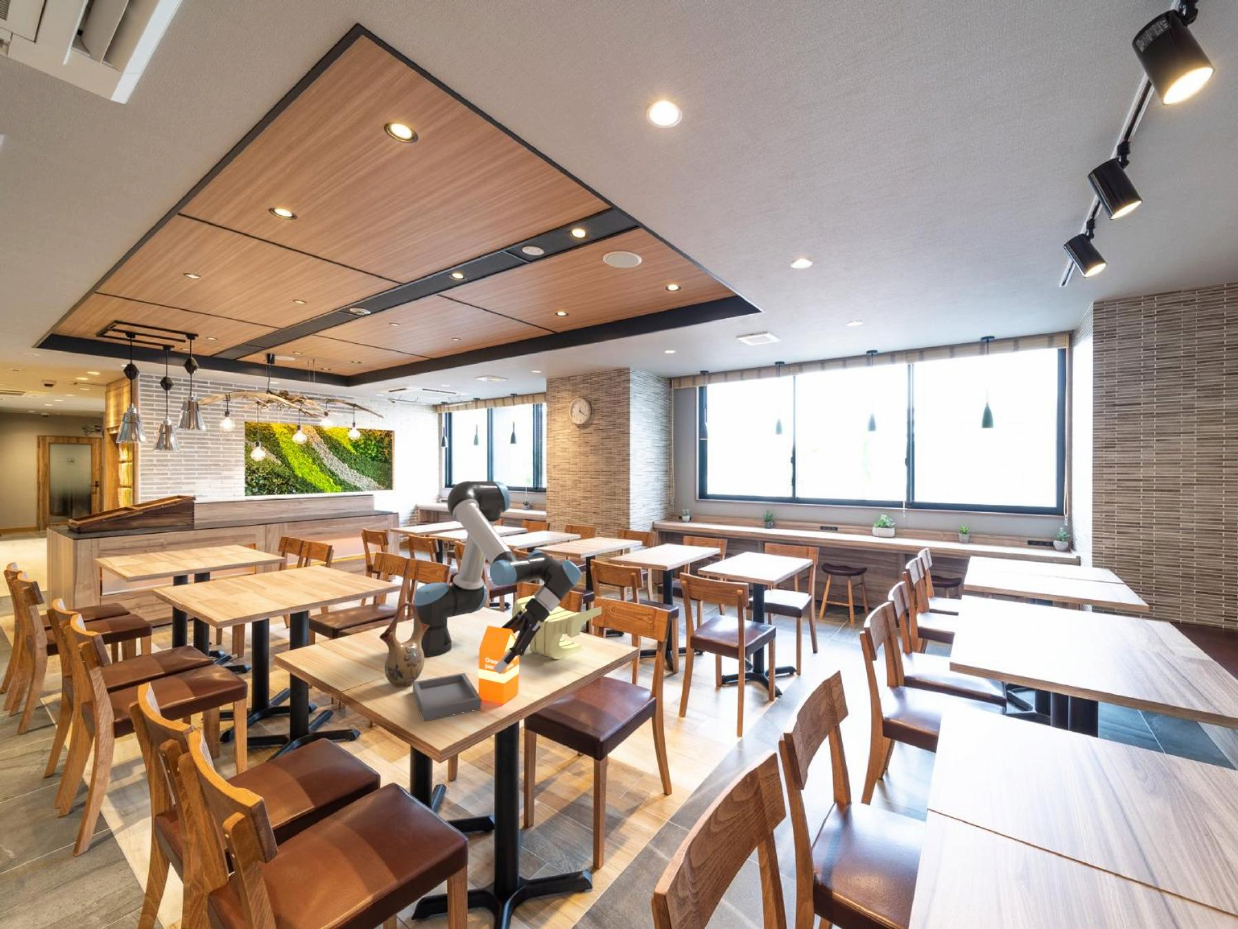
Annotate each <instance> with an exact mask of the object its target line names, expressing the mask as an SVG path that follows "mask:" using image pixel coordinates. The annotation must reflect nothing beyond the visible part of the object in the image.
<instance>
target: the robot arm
mask: <svg viewBox="0 0 1238 929" xmlns="http://www.w3.org/2000/svg"><path fill="white" fill-rule="evenodd" d="M446 505H447V510H448V512H449V514H450V516H451V517H452V519H453V520H454V521H455V522H457V523H460V524H461V526H462V528H464V530H465V531H466V533H467V536H466V540H465V545H464V550H463V553H462V558H461V561H460V566H459V571H458V573H457V574H456V575H454V577H453V580H452V584H448V583H447V582H443V581H442V582H440V581H439V582H436V583H435V582H431V583H428V584H427V583H426V584H423V585H421V586H419V587H418V588H417V589H416V590H415V592H414V600H413V605H414V606H415V609H416V611H417V614H418V617H419V619H420V621H421V623H423V624H427V625H430V626H429V628H428V629H427V630H426V632H425V633H424V635H423V637H422V641H421V647H422V650H423V652H424V658H425V657H435V656H439V655H442V654H445V653H447V652H449V651H451V650H452V649H453V648H452V647H453V641H452V638H451V635H450V631H449V628H448V618H452V617H457V616H461V615H466V614H472V613H475V612H478V611H480V610H482V609H483V608H484V607H485V604H486V602H487V599H488V592H487V591H488V588H487V585H486V583H485V581H484V579H483V578H482V576H483V572H484V567H485V563H486V560H487V561H488V562H489V564H490V568H489V569H490V570H489V576H490V578H491V581H492V583H493V584H494V585H496V586H499V587H501V586H502V587H503V586H511V585H514V584H519V583H525V582H531V581H537V580H541V581H542V582H544V584H543V585H542V586H540V588H539V589H538V590H537V591H536V592H535V593H534V594H533V595H534V598H531V599H530V600H529V602H528V603H527V604H526V605H525V608H526V609H527V611H526V612H525V613H523V612H522V611H521V610H520V611H519V612H518V613H517V614H516V615H515V616H514V617H513V618H512V617H511V619H510V620H508V621H506V623H504V625H502V626H501V627H500V628H505V629H511V630H512V631H513V633H514V634H516V633H517V632H518V635H517V636H516V637H515V638H516V641H515V643H514V645H513V647H511V648H509V650H508V651H507V652H506V654H505V655H504V656H503V657H502V658H501V659H500V660H499V662H498V663H497V664H496V665H495V666H494V667H493V669H494V670H495V671H496V672H497V673H498V674H501V673H502V672H503V671H504V670H505V669H506V667H507V666H508V665H509V664H510V663H511V662H512V660H513V659H514V658H515V657H516V656H518V655H519V657H522V656H524V654H525V652H526V651H527V649H528V648H529V647H530V645H529V644H530V642H531V641H532V639H533V637H534V636H535V634H536V633H537V631H538V630H539V629H540V626H539V625H538V624H537V623H538V621H540V622H544V621H545V620H546V619H547V617H548V616H549V615H550V613H549V612H550V611H553V610H554V609H555V608H556V607H558V606H559V604H560V603H561V602H562V601H563V599H564V598H566V596H567V595H568V594H569V593H570V591H572V589H573V588H574V587H575V586H576V585H577V583H578V582H579V580H580V579H581V578H582V577H583V573H582V570H580V568H579V567H578V566H577V565H576V564H575V563H574V562H572V561H571V560H568V559H565V560H564V561H562V562H561V563H560V562H559V561H557V560H556V559H555V558H553V557H552V556H550V555H549V554H548V553H546V552H544V551H542V550H540V549H534V550H533V551H531V552H529V553H528V555H527V556H523V557H517V556H516V555H515V553H514V552H513V551H512V550H511V548H510V547H509V546H508V545H507V543H506V541H505V540H504V539H503V538H502V537H501V535H499V533H498V532H497V531H496V529H495V528H494V526H495V523H497V522H499V521H500V519H501V514H502V513H505V512H507V511H508V510H509V508H510V506H511V495H510V491H509V488H508V487H507V486H506V484H504V483H503V482H501V481H494V480H486V481H484V480H482V481H480V480H479V481H475V480H473V481H471V480H467V481H462V482H459V483H457V484H455V486H453V487H452V489H451V490H450V492H449V493H448V495H447V502H446ZM414 629H415V621H414V620H413V630H412V632H411V635H410V638H411V637H412V635H413V633H414ZM532 630H533V631H532Z"/></svg>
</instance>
